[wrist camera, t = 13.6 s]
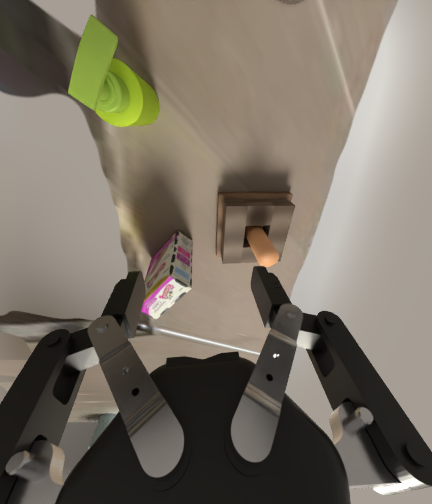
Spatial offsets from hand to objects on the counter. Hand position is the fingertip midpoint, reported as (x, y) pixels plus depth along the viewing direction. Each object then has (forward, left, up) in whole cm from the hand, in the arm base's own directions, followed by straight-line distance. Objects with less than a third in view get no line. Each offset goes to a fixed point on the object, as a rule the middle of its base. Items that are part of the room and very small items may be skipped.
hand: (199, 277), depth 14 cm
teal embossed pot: (+123, -50, -30) cm, 136 cm away
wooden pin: (+11, +13, -29) cm, 33 cm away
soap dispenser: (-12, -8, -30) cm, 34 cm away
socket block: (+11, +13, -30) cm, 35 cm away
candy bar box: (+17, -6, -30) cm, 35 cm away
